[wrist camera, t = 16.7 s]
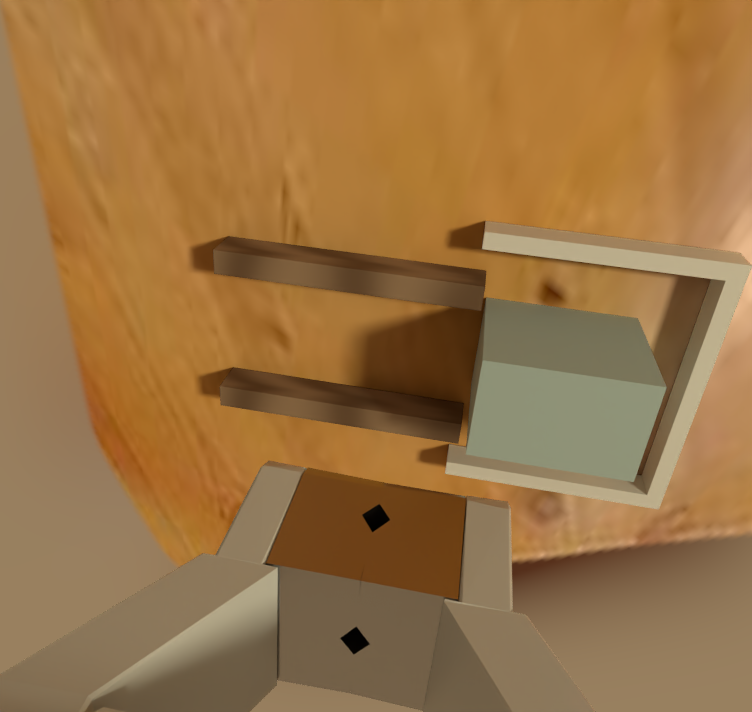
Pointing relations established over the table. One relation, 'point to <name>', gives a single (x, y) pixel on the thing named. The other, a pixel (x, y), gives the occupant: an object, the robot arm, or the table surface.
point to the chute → (351, 277)
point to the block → (563, 390)
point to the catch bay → (692, 375)
